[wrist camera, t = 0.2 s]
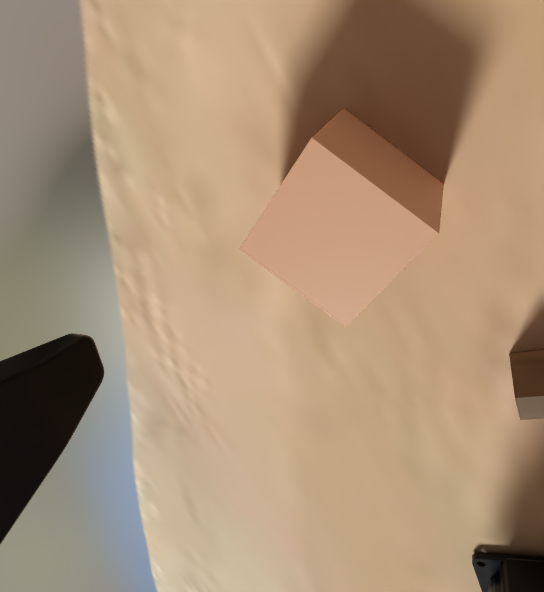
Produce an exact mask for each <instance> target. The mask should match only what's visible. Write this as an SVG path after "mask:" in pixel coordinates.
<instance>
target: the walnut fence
mask: <svg viewBox="0 0 544 592" xmlns="http://www.w3.org/2000/svg"><path fill="white" fill-rule="evenodd" d="M509 355H510V363H511V370H512V378H513V386H514V393H515V400H516V404H517V408H518V412H519V416H520V420H527V419H544V350H536V351H527V352H518V353H509Z"/></svg>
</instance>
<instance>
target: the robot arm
mask: <svg viewBox="0 0 544 592" xmlns="http://www.w3.org/2000/svg"><path fill="white" fill-rule="evenodd" d="M103 377H104V367H103V364H102V362H101V359H100V356H99V353H98V350H97V348H96V345H95V342H94V340H93V339H92V338H91V337H90V336H87V335H81V334H68V335H65V336H63V337H60V338H58V339H55V340H53V341H50V342H48V343H45V344H43V345H40V346H38V347H35V348H32V349H30V350H28V351H25V352H22V353H20V354H17V355H15V356H13V357H10V358H8V359H5V360H2V361H0V544H1V543H2V541H3V540H4V538H5V537H6V535H7V534H8V532H9V531H10V529H11V528H12V526H13V525H14V523H15V522H16V520H17V519H18V517H19V516H20V514H21V513H22V511H23V510H24V509H25V507H26V506H27V504H28V503H29V501H30V500H31V498H32V496H33V495H34V494H35V492H36V491H37V489H38V488H39V486H40V485H41V483H42V482H43V480H44V479H45V477H46V476H47V474H48V473H49V472H50V470H51V469H52V467H53V466H54V464H55V463H56V461H57V460H58V458H59V457H60V455H61V454H62V452H63V450H64V449H65V447H66V445H67V444H68V442H69V440H70V439H71V437H72V435H73V433H74V432H75V430H76V428H77V426H78V424H79V422H80V420H81V419H82V417H83V415H84V413H85V412H86V410H87V408H88V406H89V404H90V402H91V401H92V399H93V397H94V395H95V393H96V392H97V390H98V388H99V386H100V384H101V382H102V380H103ZM472 564H473V566H474V569H475V572H476V575H477V578H478V581H479V584H480V587H481V590H482V592H544V557H535V556H520V555H505V554H490V553H475V554H473V555H472Z"/></svg>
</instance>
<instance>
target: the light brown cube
mask: <svg viewBox="0 0 544 592" xmlns="http://www.w3.org/2000/svg"><path fill="white" fill-rule="evenodd" d="M443 186H444V184H443V183H442V182H440V181H439V180H438V179H436V178H435V177H434V176H432V175H431V174H430V173H428V172H427V171H426V170H424V169H423V168H422V167H420V166H419V165H418V164H417V163H415V162H414V161H413V160H411V159H410V158H409V157H407V156H406V155H405V154H403V153H402V152H401V151H399V150H398V149H397V148H395V147H394V146H393V145H391V144H390V143H389V142H387V141H386V140H385V139H384V138H382V137H381V136H380V135H378V134H377V133H376V132H374V131H373V130H372V129H370V128H369V127H368V126H366V125H365V124H364V123H362V122H361V121H360V120H358V119H357V118H356V117H355V116H353V115H352V114H351V113H349V112H348V111H347V110H345V109H344V108H343V109H342V110H341V111H340V112H339V113H338V114H336V115H335V116H334V117H333V118H332V119H331V120H330V121H329V122H328V123H327V124H326V125H325V126H324V127H323V128H321V129H320V130H319V131H318V132H317V133H316V134H315V135H314V136H313V137H312V138H311V139H310V141H309V142H308V144H307V145H306V147H305V149H304V150H303V152H302V153H301V155H300V156H299V158H298V159H297V161H296V162H295V164H294V165H293V167H292V168H291V170H290V171H289V173H288V174H287V176H286V177H285V179H284V181H283V182H282V184H281V185H280V187H279V188H278V190H277V191H276V193H275V194H274V196H273V197H272V199H271V200H270V202H269V203H268V205H267V206H266V208H265V210H264V211H263V213H262V214H261V216H260V217H259V219H258V220H257V222H256V223H255V225H254V226H253V228H252V229H251V231H250V232H249V234H248V235H247V237H246V238H245V240H244V242H243V243H242V245H241V246H240V248H239V249H240V250H241V251H242V252H244V253H245V254H246V255H248V256H249V257H251V258H252V259H253V260H255V261H256V262H257V263H259V264H260V265H261V266H263V267H264V268H266V269H267V270H268V271H270V272H271V273H272V274H274V275H275V276H276V277H278V278H279V279H281V280H282V281H283V282H285V283H286V284H287V285H289V286H290V287H292V288H293V289H294V290H296V291H297V292H298V293H300V294H301V295H302V296H304V297H305V298H307V299H308V300H309V301H311V302H312V303H313V304H315V305H316V306H317V307H319V308H320V309H322V310H323V311H324V312H326V313H327V314H328V315H330V316H331V317H333V318H334V319H335V320H337V321H338V322H339V323H341V324H342V325H343V326H345V327H346V326H347V325H348V324H349V323H350V322H351V321H352V320H353V319H354V318H355V317H356V316H357V315H358V314H359V313H360V312H361V311H362V310H363V309H364V308H365V307H366V306H367V305H368V304H369V303H370V302H371V301H372V300H373V299H374V298H375V297H376V296H377V295H378V294H379V293H380V292H381V291H382V290H383V289H384V288H385V287H386V286H387V285H388V284H389V283H390V282H391V281H392V280H393V279H394V278H395V277H396V276H397V275H398V274H399V273H400V272H401V271H402V270H403V269H404V268H405V267H406V266H407V265H408V264H409V263H410V262H411V261H412V260H413V259H414V258H415V257H416V256H417V255H418V254H419V253H420V252H421V251H422V250H423V249H424V248H425V247H426V246H427V245H428V244H429V243H430V242H431V241H432V240H433V239H434V238H435V237H436V236H437V235H438V234H439V228H440V217H441V207H442V197H443Z"/></svg>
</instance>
